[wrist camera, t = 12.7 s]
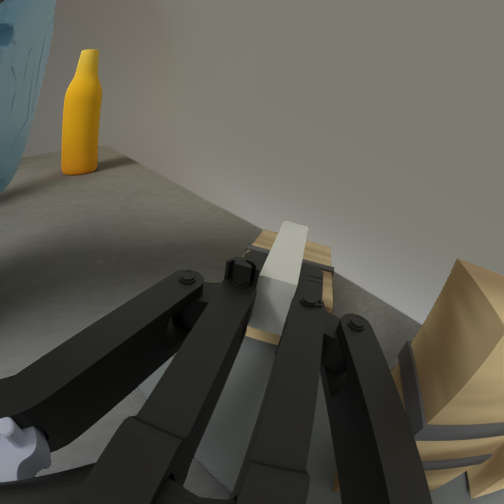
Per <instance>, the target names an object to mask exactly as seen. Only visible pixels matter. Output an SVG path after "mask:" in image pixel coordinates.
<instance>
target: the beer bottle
mask: <svg viewBox="0 0 504 504" xmlns="http://www.w3.org/2000/svg"><path fill="white" fill-rule="evenodd" d="M98 57H99V51H98V50H95V49H88V50H83V51H82V53H81V56H80V59H79V63H78V66H77V70H76V74H75V76H74V78H73V80H72V82H71V84H70V85H69V87H68V90H67V92H66V95H65V100H64V111H63V126H62V159H61V167H62V172H63V173H64V174H66V175H81V174H87V173H90V172H93V171H95V170H96V168H97V163H98V132H99V118H100V109H101V100H102V89H101V85H100V81H99V79H98Z"/></svg>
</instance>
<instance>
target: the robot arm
mask: <svg viewBox="0 0 504 504" xmlns="http://www.w3.org/2000/svg"><path fill="white" fill-rule="evenodd" d="M54 12H55V0H0V194H1V193H2V192H3V190H4V189H5V188H6V187H7V186H8V184H9V183H10V181H11V180H12V178H13V176H14V174H15V172H16V170H17V168H18V166H19V164H20V161H21V159H22V156H23V153H24V150H25V147H26V144H27V140H28V137H29V133H30V130H31V126H32V122H33V119H34V115H35V110H36V107H37V103H38V98H39V94H40V90H41V86H42V81H43V77H44V72H45V68H46V63H47V58H48V54H49V49H50V44H51V39H52V33H53V28H54V19H53V14H54ZM307 232H308V226H304V225H300V224H296V223H293V222H289V221H285V220H284V221H283V223H282V226H281V228H280V230H279V233H278V235H277V237H276V239H275V241H274V244H273V246H272V248H271V250H270V253H269V254H266V253H262V252H258V251H255V250H251V251H249V252H247V253H246V254H245V255H244V257H234V258H231V259H229V260H228V261H227V263H226V270H225V277H224V280H223V282H222V283H206V282H204V278H203V277H202V275H201V274H199V273H198V272H195V271H192V270H180V271H177V272H175V273H173V274H172V275H170V276H168V277H167V278H165V279H163V280H162V281H160V282H159V283H157V284H155V285H154V286H152V287H150V288H149V289H147V290H146V291H144V292H142V293H141V294H139V295H138V296H136V297H134V298H133V299H131V300H130V301H128V302H126V303H125V304H123V305H122V306H120V307H118V308H117V309H115V310H114V311H112V312H111V313H109V314H107V315H106V316H104V317H103V318H101V319H100V320H98V321H96V322H95V323H93V324H92V325H90V326H89V327H87V328H85V329H84V330H82V331H81V332H79V333H78V334H76V335H75V336H73V337H72V338H70V339H69V340H67V341H65V342H64V343H62V344H61V345H59V346H58V347H56V348H55V349H53V350H52V351H50V352H49V353H47V354H46V355H44V356H43V357H41V358H40V359H38V360H37V361H35V362H34V363H32V364H31V365H29V366H28V367H26V368H25V369H23V370H22V371H20V372H19V373H18V374H16V375H14V376H10V377H7V378H3V379H0V504H306V500H307V496H308V491H309V484H310V476H309V474H308V472H307V471H306V465H307V459H308V454H309V448H310V442H311V436H312V429H313V422H314V415H315V408H316V400H317V392H318V384H319V375H321V380H322V385H323V390H324V395H325V401H326V406H327V412H328V417H329V423H330V429H331V435H332V441H333V447H334V453H335V460H336V466H337V473H338V480H339V487H340V495H341V502H342V504H433V503H432V499H431V495H430V490H429V487H428V483H427V479H426V475H425V472H424V468H423V465H422V461H421V458H420V454H419V451H418V448H417V445H416V442H415V438H414V435H413V432H412V429H411V426H410V423H409V420H408V418H407V415H406V412H405V409H404V406H403V404H402V401H401V398H400V395H399V393H398V390H397V387H396V385H395V382H394V380H393V377H392V375H391V372H390V370H389V367H388V365H387V362H386V360H385V357H384V355H383V353H382V350H381V348H380V345H379V343H378V341H377V338H376V336H375V334H374V332H373V329H372V327H371V325H370V324H369V322H368V321H367V320H366V319H364V318H363V317H361V316H359V315H355V314H346V315H344V316H342V318H341V319H340V318H337V317H335V316H334V315H332V314H330V313H329V312H328V311H326V309H325V304H324V302H323V300H322V293H323V274H324V273H323V271H322V270H321V268H320V267H317V266H314V265H310V264H306V263H302V259H303V254H304V249H305V243H306V238H307ZM248 324H249V325H248ZM247 326H248V327H252V328H255V329H259V330H262V331H266V332H269V333H273V334H276V335H280V336H281V337H280V340H279V343H278V346H277V349H276V352H275V358H274V362H273V365H272V369H271V373H270V376H269V380H268V383H267V387H266V390H265V394H264V397H263V400H262V404H261V407H260V410H259V414H258V417H257V420H256V423H255V427H254V430H253V433H252V436H251V439H250V442H249V445H248V449H247V452H246V455H245V458H244V461H243V464H242V467H241V469H240V472H239V475H238V478H237V481H236V483H235V486H234V488H233V491H232V493H231V496H230V498H229V500H222V499H210V498H202V497H198V496H196V495H194V494H193V493H191V492H189V491H188V490H186V489H185V488H183V484H184V482H185V479H186V476H187V473H188V469H189V467H190V464H191V462H192V460H193V457H194V455H195V453H196V451H197V448H198V446H199V444H200V442H201V439H202V437H203V435H204V432H205V430H206V428H207V426H208V423H209V421H210V419H211V416H212V414H213V412H214V409H215V407H216V405H217V402H218V400H219V398H220V395H221V393H222V390H223V388H224V386H225V383H226V381H227V379H228V376H229V374H230V371H231V369H232V367H233V364H234V362H235V359H236V357H237V354H238V352H239V350H240V347H241V345H242V342H243V340H244V337H245V335H246V330H247ZM177 351H178V352H177ZM176 352H177V353H176ZM175 353H176V355H175V356H174V358H173V359H172V361H171V363H170V364H169V366H168V367H167V369H166V370H165V372H164V374H163V375H162V377H161V378H160V380H159V381H158V383H157V385H156V386H155V388H154V389H153V391H152V393H151V394H150V396H149V397H148V399H147V400H146V402H145V404H144V405H143V407H142V408H141V410H140V411H139V413H138V414H137V415H136V416H129V417H128V418H126V419H125V420H124V421H123V422H122V424H121V425H120V426H119V428H118V429H117V431H116V433H115V434H114V436H113V437H112V439H111V440H110V442H109V443H108V445H107V447H106V448H105V450H104V451H103V453H102V454H101V456H100V457H99V459H98V461H97V462H96V463H93V464H89V465H85V466H82V467H78V468H74V469H70V470H66V471H62V472H58V473H54V474H49V475H44V476H39V477H35V475H36V474H37V472H39V471H40V470H42V469H46V468H49V467H50V466H51V458H50V453H51V452H53V451H56V450H59V449H60V448H62V447H64V446H66V445H68V444H69V443H71V442H72V441H74V440H75V439H76V438H78V437H79V436H80V435H82V434H83V433H84V432H85V431H86V430H88V429H89V428H90V427H91V426H92V425H93V424H95V423H96V422H97V421H98V420H99V419H101V418H102V417H103V416H104V415H105V414H106V413H108V412H109V411H110V410H111V409H112V408H114V407H115V406H116V405H117V404H118V403H119V402H121V401H122V400H123V399H124V398H125V397H126V396H127V395H129V394H130V393H131V392H132V391H133V390H134V389H136V388H137V387H138V386H139V385H140V384H141V383H142V382H144V381H145V380H146V379H147V378H148V377H149V376H150V375H152V374H153V373H154V372H155V371H156V370H157V369H158V368H159V367H161V366H162V365H163V364H164V363H165V362H166V361H167V360H169V359H170V358H171V357H172V356H173V355H174V354H175Z"/></svg>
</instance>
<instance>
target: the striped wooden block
mask: <svg viewBox="0 0 504 504" xmlns="http://www.w3.org/2000/svg"><path fill="white" fill-rule="evenodd" d="M492 454H493V456H492V457H490V458H489V459H487V460H486V461H485V462H483V463H482V464H478V465H474V466H473V467H471V468H470V469H468V470H467V474H468V480H469V486H470V493H471V499H472V498H476V497H479V496H483V495H486V494H489V493H492V492H495V491H498V490H501V489H504V444H502V445H501V446H500V447H499V448H497V449H496V450H495V451H494V452H492Z"/></svg>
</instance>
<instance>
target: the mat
mask: <svg viewBox="0 0 504 504" xmlns="http://www.w3.org/2000/svg"><path fill="white" fill-rule="evenodd" d="M277 346H278V345H275V344H271V343H268V342H264V341H261V340H257V339H254V338H251V337H247V336H245V337H244V340H243V342H242V345H241V347H240V350H239V352H238V354H237V357H236V359H235V362H234V364H233V367H232V369H231V371H230V374H229V376H228V379H227V381H226V383H225V386H224V388H223V390H222V393H221V395H220V398H219V400H218V402H217V405H216V407H215V409H214V412H213V414H212V416H211V419H210V421H209V423H208V426H207V428H206V430H205V432H204V435H203V437H202V439H201V442H200V444H199V446H198V448H197V451H196V453H195V455H194V457H195V458H196V459H197V460H198V461H199V462H200V463H201V464H202V465H203V466H204V467H205V468H206V469H207V470H208V471H209V472H210V473H211V474H212V475H213V476H214V477H215V478H216V479H217V480H218V481H219V482H220V483H221V484H222V485H223V486H224V487H226V488H227V489H228V490H229V491H230V492H231V493H232V491H233V488H234V486H235V483H236V481H237V478H238V475H239V472H240V469H241V467H242V464H243V461H244V458H245V455H246V452H247V449H248V445H249V442H250V439H251V436H252V433H253V430H254V427H255V423H256V420H257V417H258V414H259V410H260V407H261V404H262V400H263V397H264V394H265V390H266V387H267V383H268V380H269V376H270V373H271V369H272V365H273V362H274V358H275V352H276V349H277ZM173 358H174V356H173V357H171V358H170V359H169V360H167V361H166V362H165V363H164V364H163V365H162V366H161V367H159V368H158V369H157V370H156V371H155V372H154V373H153V374H152V375H150V376H149V377H148V378H147V379H146V380H145V381H144V382H142V383H141V384H140V385H139V386H138V387H139V389H140V390H141V392H142V393H143V394H144V396H145V397H146V398H147V399H148V397H149V396H150V394H151V393H152V391H153V389H154V388H155V386H156V385H157V383H158V381H159V380H160V378H161V377H162V375H163V374H164V372H165V370H166V369H167V367H168V366H169V364H170V363H171V361H172V359H173ZM306 471H307V472H308V474H309V476H310V484H309V491H308V496H307V500H306V504H342V502H341V495H340V492H335V491H333V487H334V481H335V474H336V460H335V453H334V447H333V441H332V435H331V429H330V423H329V417H328V412H327V406H326V401H325V395H324V390H323V385H322V380H321V375H319V384H318V392H317V400H316V408H315V415H314V422H313V429H312V436H311V442H310V448H309V454H308V459H307V465H306ZM430 495H431V499H432V503H433V504H504V489H501V490H498V491H495V492H492V493H489V494H486V495H483V496H479V497H476V498H472V499H471V493H470V486H469V480H468V474H467V471H465V472H464V473H462V474H460V475H459V476H457V477H456V478H454V479H452V480H451V481H449V482H447V483H445V484H444V485H442V486H440V487H438V488H436V489H434V490H430Z"/></svg>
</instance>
